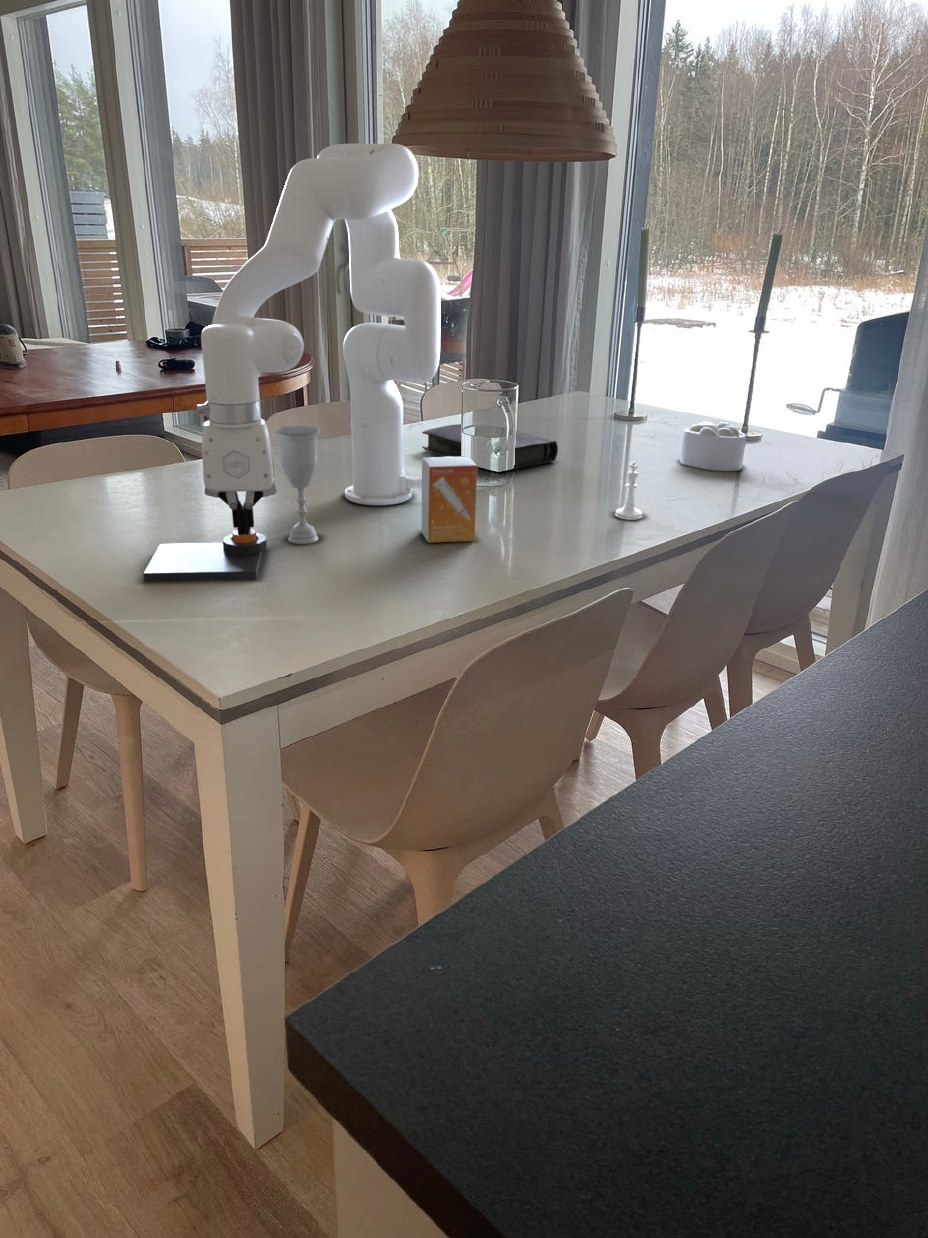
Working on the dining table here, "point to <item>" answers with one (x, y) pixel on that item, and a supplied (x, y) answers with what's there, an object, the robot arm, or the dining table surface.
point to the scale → (206, 561)
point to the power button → (244, 536)
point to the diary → (526, 447)
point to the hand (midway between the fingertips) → (244, 531)
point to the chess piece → (630, 498)
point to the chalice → (299, 472)
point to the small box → (449, 499)
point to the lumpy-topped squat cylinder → (713, 447)
